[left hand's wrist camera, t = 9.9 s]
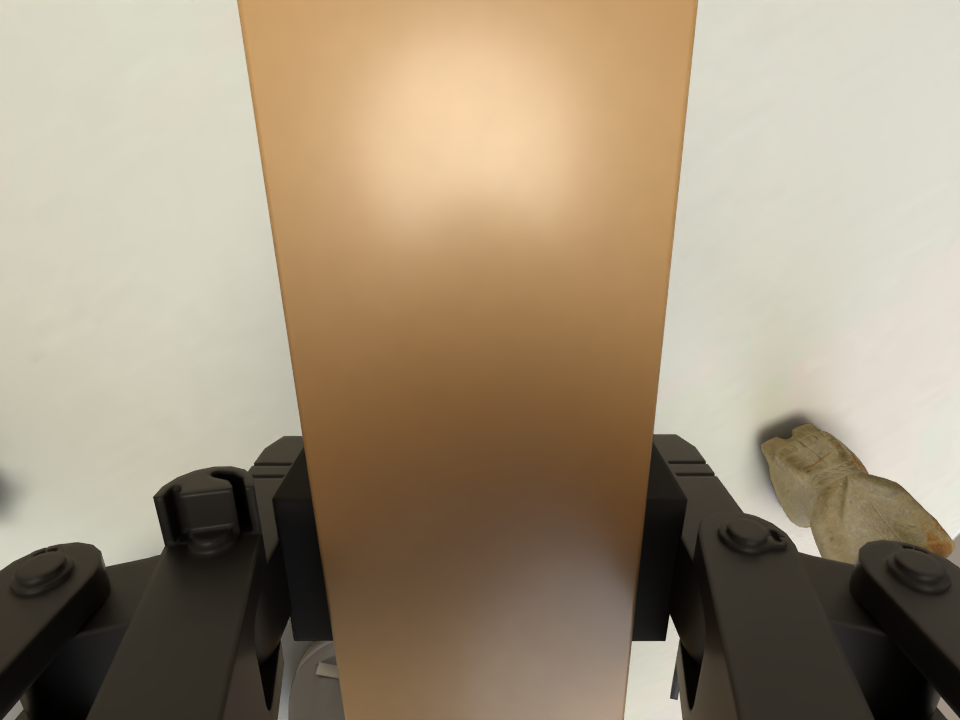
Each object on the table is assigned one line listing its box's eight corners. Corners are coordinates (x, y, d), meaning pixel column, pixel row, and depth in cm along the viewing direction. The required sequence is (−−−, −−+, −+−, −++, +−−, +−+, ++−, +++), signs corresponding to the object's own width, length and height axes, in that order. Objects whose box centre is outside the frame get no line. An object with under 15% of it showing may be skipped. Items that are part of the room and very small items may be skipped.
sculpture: (767, 517, 39) (930, 725, 25) (736, 436, 36) (896, 614, 22) (850, 485, 38) (1069, 683, 24) (824, 400, 35) (1048, 563, 21)
